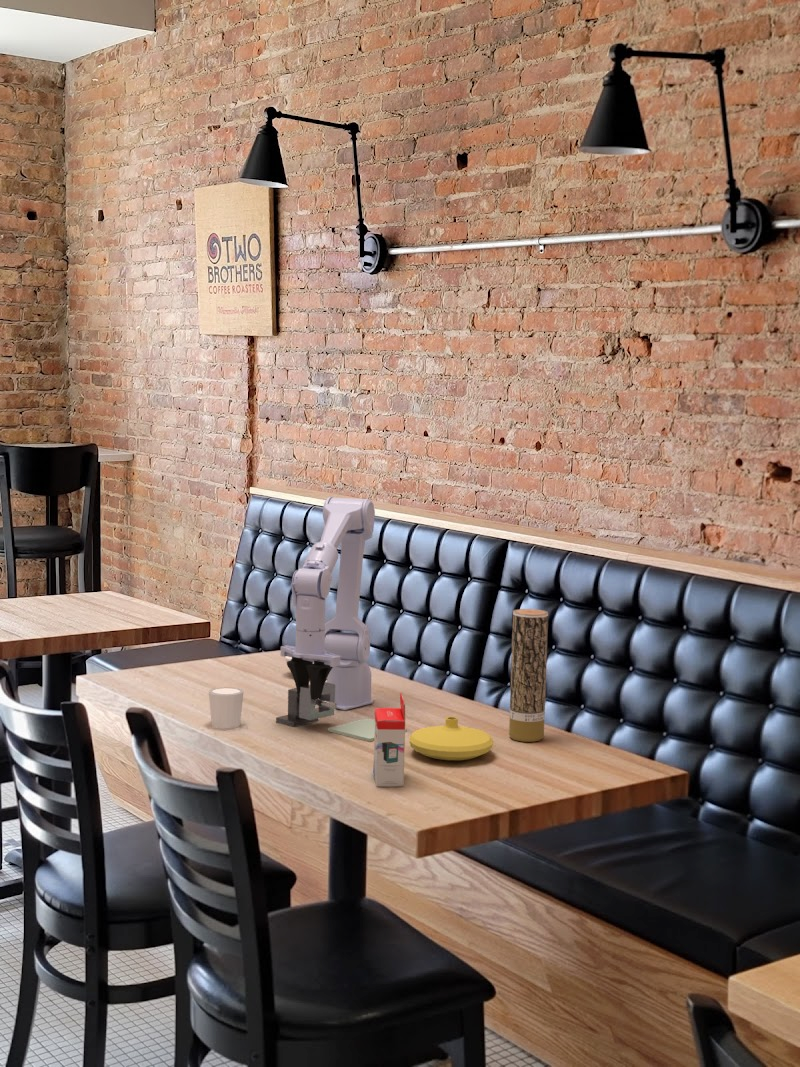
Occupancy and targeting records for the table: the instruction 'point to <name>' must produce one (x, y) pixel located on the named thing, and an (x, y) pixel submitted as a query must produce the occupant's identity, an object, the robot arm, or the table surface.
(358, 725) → the coaster
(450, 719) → the vase
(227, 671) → the table surface
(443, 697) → the table surface
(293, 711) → the post
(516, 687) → the paper tube
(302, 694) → the grey hollow frame block
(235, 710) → the white cup
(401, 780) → the ink box
